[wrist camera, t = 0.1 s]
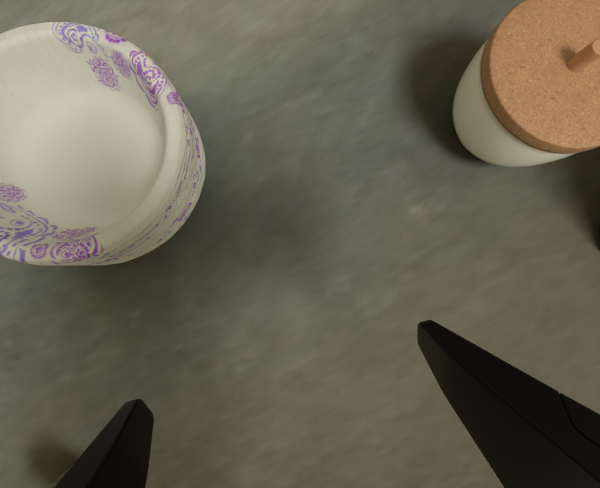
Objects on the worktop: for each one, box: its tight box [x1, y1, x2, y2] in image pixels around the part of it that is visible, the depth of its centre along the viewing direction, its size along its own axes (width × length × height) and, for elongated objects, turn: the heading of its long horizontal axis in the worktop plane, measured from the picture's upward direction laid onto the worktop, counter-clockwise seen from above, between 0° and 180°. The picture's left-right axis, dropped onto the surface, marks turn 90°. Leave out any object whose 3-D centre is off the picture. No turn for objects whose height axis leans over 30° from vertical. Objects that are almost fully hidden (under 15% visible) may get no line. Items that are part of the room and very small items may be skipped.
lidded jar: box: [453, 0, 600, 167], centre depth 21 cm, size 11×11×9 cm
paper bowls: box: [0, 22, 205, 266], centre depth 20 cm, size 15×15×8 cm
